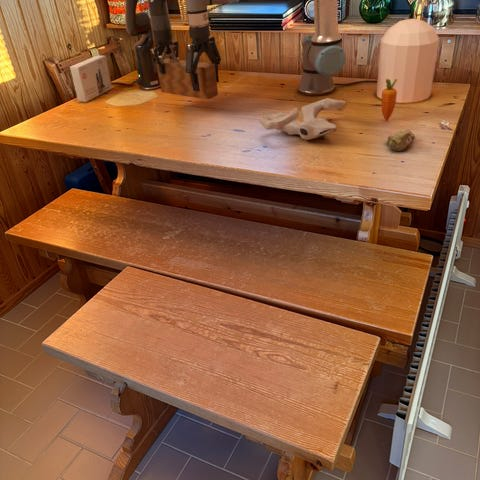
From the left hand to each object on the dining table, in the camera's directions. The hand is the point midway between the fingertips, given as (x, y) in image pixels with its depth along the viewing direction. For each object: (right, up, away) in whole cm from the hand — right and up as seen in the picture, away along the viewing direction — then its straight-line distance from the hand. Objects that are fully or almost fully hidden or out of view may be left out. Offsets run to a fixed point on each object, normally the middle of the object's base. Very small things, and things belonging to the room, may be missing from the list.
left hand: (168, 71), depth 187 cm
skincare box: (-40, +1, +35) cm, 53 cm away
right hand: (+16, -9, -8) cm, 20 cm away
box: (+8, -9, 0) cm, 12 cm away
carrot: (+82, -26, -22) cm, 88 cm away
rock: (+81, -38, -40) cm, 98 cm away
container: (+95, -9, 0) cm, 96 cm away
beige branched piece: (+53, -33, -28) cm, 68 cm away
